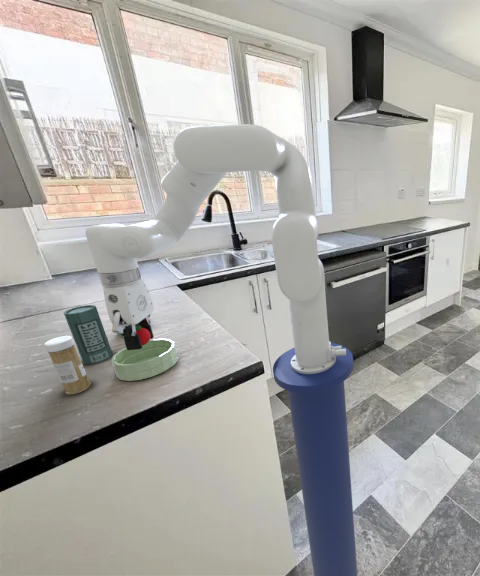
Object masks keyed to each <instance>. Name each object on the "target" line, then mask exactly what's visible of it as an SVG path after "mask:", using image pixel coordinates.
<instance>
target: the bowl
mask: <svg viewBox="0 0 480 576" xmlns="http://www.w3.org/2000/svg"><path fill="white" fill-rule="evenodd" d="M178 354H179V353H178V351H177V347H176V343H175V341H173V340H172V339H170V338H169V339H167V338H154V339H153V338H152V339H150V340H149V342H148V343H147V344H145V345H143V346H142V348H141V349H137V350H127V348H126V347H125V348H122V349H121V350H119V351H117V352H116V353H115V354H114V355H112V358H111V360H110V362H111V365H112V368H113V370H114V374H115V377H117V378H118V379H119V380H120V381H127V382H131V381H141V380H147V379H150V378H152V377H156V376H158V375H160V374H162V373H164V372H166V371H167V370H169V369H171V368H172V367H173V366H175V365H176V363H177V362H178V361H179V355H178Z"/></svg>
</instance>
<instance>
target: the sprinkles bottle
mask: <svg viewBox="0 0 480 576" xmlns="http://www.w3.org/2000/svg"><path fill="white" fill-rule="evenodd" d="M43 346H44V348H45V351H46V352H47V353H48V355H49V357H50V360H51V362H52V365H53V367H54V370H55V372H56V374H57V377H58V379H59V381H60V383H61V384H62V387H63V389H64V393H65V394H66V395H69V396H70V395H76V394H79V393H82V392H84V391H86V390H88V389H89V388H90V387H91V385H92V384H91V382H90V380H89V378H88V375H87V372H86V369H85V367H84V365H83V361H82V359H81V357H80V355H79V354H78V353H79V352H78V351H77V348H76V347H75V346H76V343H75V341H74V338H73V336H72V335H61V336H57V337H54V338H51V339H49V340H47V341H46V342H44V344H43Z"/></svg>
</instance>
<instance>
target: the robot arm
mask: <svg viewBox="0 0 480 576" xmlns="http://www.w3.org/2000/svg"><path fill="white" fill-rule="evenodd" d="M172 151H173V155H174V157H175V159H176V160H177V161H175V163H174V164H173V166H172V167H171V168H170V169H169V170H168V172H167V173H166V174H165V175H164V177H163V178H162V179H161V182H160V183H161V184H160V185H161V187H162V190H163V191H164V193H165V194H166V198H165V201H164V203H163V205H162V206H161V208H160V209H159V210H158V212H157V213H156V214H155V216H154V217H152V219H151V220H148V221H142V222H138V223H134V224H128V225H124V224H121V223H103V224H95V225H90V226H88V227H87V228H86V229H85V233H84V234H85V238H86V241H87V244H88V246H89V250H90V252H91V255H92V258H93V261H94V262H93V263H94V265H95V267H96V271H97V274H98V277H99V280H100V283H101V285H102V287H103V288H102V289H103V290H102V291H103V297H104V303H105V307H106V311H107V314H108V318H109V320H110V323H111V325H112V328H111V332H112V333H113V334H118V335H120V337H121V338H123V342H124V345H125V348H127V350H137V349H141V348H142V344H141V341H140V338H139V334H136V328H135V325H136V324H137V326H141V328H145V329H147V330H148V331H149V332H150V335H151V338H150V340H153V338H154V337H155V336H154V333H153V329H152V326H151V323H152V322H151V321H152V320H151V319H150V317H151V314H152V313H153V312H154V311H155V306H154V303H153V300H152V297H151V294H150V292H149V289H148V287H147V284H146V282H145V280H144V278H143V277H142V274H141V271H140V267H139V264H138V259H144V258H149V257H152V256H154V255H156V254H159V253H162V252H164V251H166V250H169V249H171V248H173V247H174V246H175V245H176V244H177V243H178V242H179V241H180V240H181V239H182V237H183V236H184V235H185V234H186V233H187V231H188V230H189V229H190V227H192V225H193V224H194V221H195V220H196V217H197V214H198V213H199V211H200V207H201V206H202V205H203V203H204V202H205V200H206V199H207V198H208V197H209V196H210V194H211V193H212V192H213V191H214V189H215V188H216V187H217V186H218V184H219V183H220V182H221V181H222V179H223V178H224V177H225V176H226V175H227V173H236V172H237V173H238V172H256V171H257V172H266V173H267V172H268V173H270V174H271V175H272V176H273V178H274V182H275V194H276V201H277V206H278V208H277V209H278V219H276V221H275V222H274V224H273V226H272V230H271V245H272V252H273V258H274V265H275V272H276V278H277V284H278V287H279V290H280V292H281V293H282V294H283V295H284V297H285V298H286V299H288V304H289V314H290V322H291V330H292V337H293V345H294V348H295V354H296V355H294V356H293V358H292V359H291V367H292V369H293V370H294V371H296V372H298V373H301V374H316V373H320V372H323V371H326V370H328V369H329V368H331V367H332V366H333V365H334V364H335V362H336V356H346V349H341V346H342V345H341V346H336V347H333V346H331V343H332V342H331V341H330V334H329V321H328V308H327V296H326V294H327V293H326V275H325V267H324V265H323V262H322V261H321V259H320V258H319V249H318V237H319V231H320V229H319V224H318V221H317V213H316V212H317V211H316V201H315V195H314V189H313V187H314V186H313V181H312V174H311V170H310V167H309V164H308V162H307V160H306V158H305V157H304V155H303V154H302V152H301V151H300V150H299V149H298V148H297V147H296V146H295V145H294V144H292V143H291V142H289V141H288V140H286V139H284V138H283V137H281V136H279V135H277V134H276V133H274V132H272V131H271V130H269V129H268V128H267V127H264V126H262V125H258V124H251V123H244V124H241V123H240V124H224V125H223V124H222V125H198V126H197V125H196V126H189V127H185V128H184V129H182V130H180V131H178V133H177V134H176V136H175V137H174V139H173V144H172ZM124 322H126V323H124ZM125 326H130V330H129V329H125Z"/></svg>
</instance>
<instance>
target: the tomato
mask: <svg viewBox="0 0 480 576" xmlns="http://www.w3.org/2000/svg"><path fill="white" fill-rule="evenodd" d="M135 328H136V334H139V338H140V341H141V344H142V346H143V345H145V344H147V343H148V342H149V340H151V339H150V338H151V335H150V332H149V331H148V330H147V329H145V328H141V326H135Z"/></svg>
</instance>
